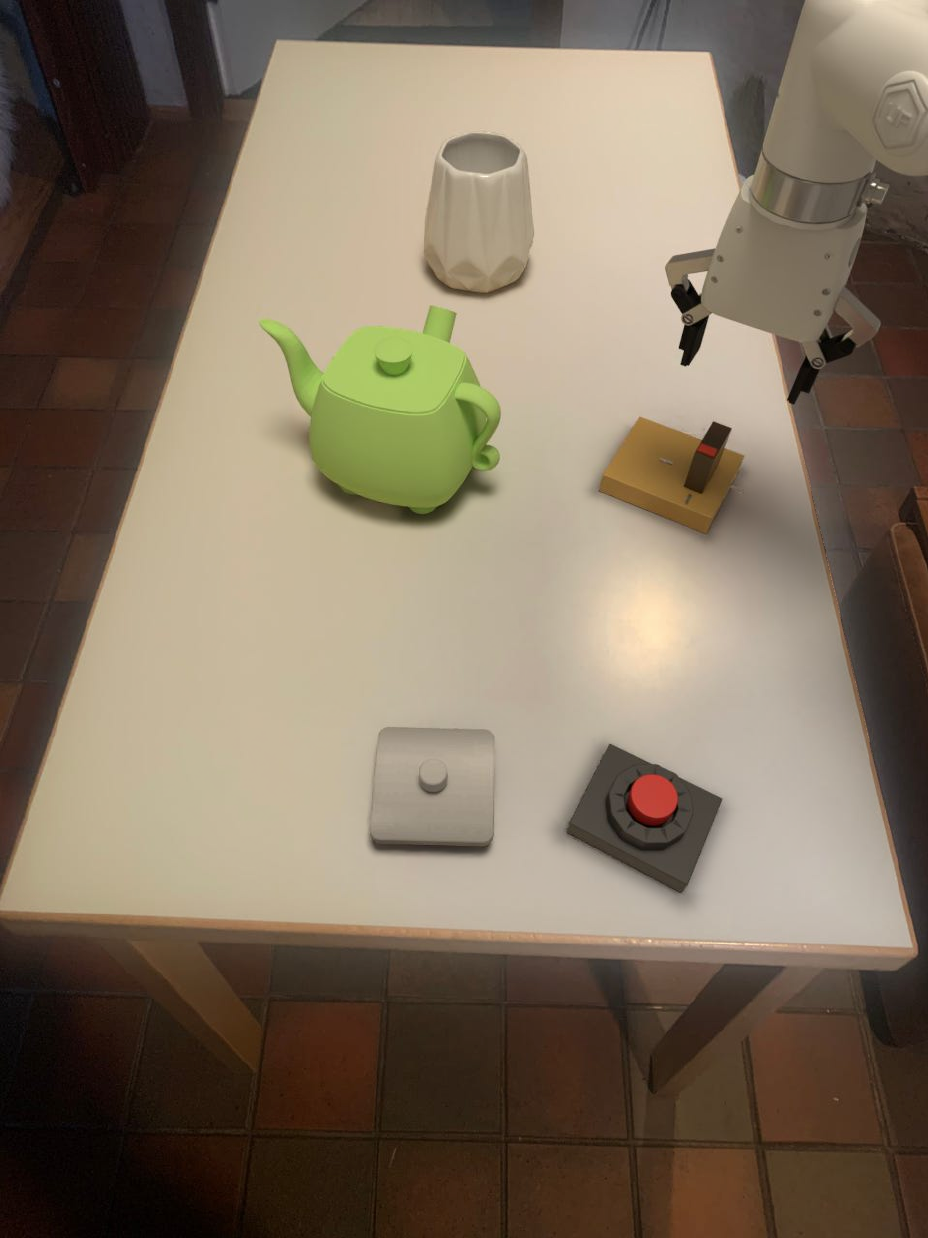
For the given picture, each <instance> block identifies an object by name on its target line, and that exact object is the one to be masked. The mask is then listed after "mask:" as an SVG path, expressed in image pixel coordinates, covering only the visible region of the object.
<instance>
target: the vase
mask: <svg viewBox="0 0 928 1238" xmlns="http://www.w3.org/2000/svg"><path fill="white" fill-rule="evenodd" d="M533 218H534V217H533V208H532V195H531V182H530V173H529V162H528V155H527V153H526V152H525V150H524V149H523V147H522V146H521V145H520V143H518V142H516V141H515V140H514V139H513V138H512V137H509V136H507V135H505V134H502V133H497V132H488V131H486V130H477V131H476V130H475V131H467V132H461V133H460V134H457V135H453V136H451V137H448V138H446V139H445V140H443V142H442V143H441V145H440V147H439V150H438V152H437V153H436V157H435V160H434V165H433V170H432V176H431V184H430V188H429V195H428V200H427V204H426V211H425V217H424V230H423V231H424V238H423V253H424V257H425V259H426V262H427V263H428V265H429V267H430V268H431V269H432V271H433V272H434V275H435V277H436V278H437V279H438V280H439V281H440V282H441V283H442V284H444V285H445V286H447V287H449V288H451V289H455V290H460V291H466V292H471V293H472V292H473V293H482V294H487V293H491V292H493V291H496V290H498V289H500V288H504V287H506V286H509V285H511V284H513V283H514V282H516V281H517V280H519V278H520V277H521V275H522V274H523V272H524V270H525V268H526V267H527V265H528V260H529V255H530V251H531V248H532V246H533V243H534V237H535V227H534V219H533Z"/></svg>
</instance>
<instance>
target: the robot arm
mask: <svg viewBox="0 0 928 1238" xmlns="http://www.w3.org/2000/svg"><path fill="white" fill-rule="evenodd" d="M764 136H765V137H764V140H763V142H762V147H761V151H760V154H759V157H758V161H757V165H756V168H755V171H754V174H752V175H750V176H748V177H747V178H746V179H745V180H744V181H743V184H742V185H741V188H740V189H739V191H738V194H737V195H736V197H735V201H734V202H733V204H732V206H731V208H730V210H729V213H728V214H727V215H728V216H727V217H726V221H725V222H724V225H723V228H722V230H721V232H720V235H719V238H718V241H717V244H716V246H715V247H714V248H709V249H704V250H698V251H693V252H687V253H680V254H675V255H672V256H671V257H670V259H669V260H668V262H667V263H666V264H665V265H664V270H665V275H666V278H667V281H668V286H670V289H671V291H670V297H671V299H672V300H673V302H674V303H675V305H676V307H677V308H678V310H679V312H680V314H681V317H680V320H681V322H682V324H683V328H682V331H681V332H682V333H681V336H680V341H679V345H678V350H681V351H683V352H682V356H681V360H680V365H681V366H683V367H685V368H687V367H689V366H690V365H691V364H692V362H693V360H694V358H695V357H696V355H698V353H699V351H700V349H701V347H702V343H703V339H704V336H705V332H706V329H707V325H708V322H709V319H710V315H712V314H713V315H716V316H717V317H721V318H724V319H726V320H729V321H733V322H734V323H735V322H736V323H738V324H741V325H745V326H747V327H749V328H754V329H757V330H760V331H763V332H766V333H769V334H772V335H775V336H777V337H781V338H785V339H787V340H791V341H794V342H798V343H800V345H801V346H802V348H803V351H804V353H805V357H804V359H803V362H802V363H801V365H800V367H799V370H798V372H797V374H796V377H795V380H794V382H793V383H792V387H791V389H790V392H789V394H788V395H787V398H786V401H787V402H788V404H791V405H795V404H796V403H797V400H798V398H799V396H800V394H801V393H805V394H808V395H809V394H810V392H811V390H812V388H813V386H814V384H815V382H816V380H817V378H818V376H819V373H820V371H821V369H823V368H825V366H826V365H827V364H829V363H832V362H834V361H837V360H840V359H843V358H846V357H848V356H850V355H852V354H853V352H855V350H857V349H858V348H860V347H862V346H863V345H864V344H866V343H867V342H869V341H870V340H871V339H873V338H874V337H875V336H876V335H877V334H878V332H879V329H880V327H881V324H882V322H881V320H880V319H879V317H877V315H875V313H873V312H872V311H871V310H870V309H869V308H868V307H867V306H866V305H865V304H864V303H863V302H861V301H860V300H859V298H857V297H856V295H854V294H853V292H851V291H850V290H849V289H848V288H847V287H846V285H847V282H848V280H849V277H850V274H851V272H852V269H853V266H854V263H855V261H856V257H857V255H858V251H859V249H860V245H861V241H862V238H863V234H864V229H865V225H866V219H867V214H868V206H867V205H870V203H871V204H874V205H878V206H881V205H882V203H883V200H884V199H885V197H886V195H887V192H888V190H889V187H890V184H889V183H884V182H881V181H880V178H875V177H876V175H877V174H876V172H874V169H875V166H876V164H877V162H876V161H878V162H879V163H880V164H882V165H883V166H884V167H886V168H887V169H889V170H891V171H893V172H894V173H897V174H900V175H904V176H907V177H926V176H928V0H804V3H803V5H802V9H801V12H800V15H799V18H798V21H797V25H796V29H795V32H794V35H793V39H792V41H791V45H790V49H789V53H788V57H787V61H786V63H785V67H784V70H783V74H782V77H781V80H780V84H779V87H778V90H777V93H776V98H775V101H774V104H773V108H772V111H771V116H770V119H769V122H768V126H767V130H766V131H765V135H764ZM703 272H706V275H705V278H704V281H703V284H702V289H701V292H700V293H698V291H697V290H696V288H695V287H694V284H693V282H692V281H691V280H690V279H689V278H688V277H689V275H691V274H698V273H703ZM835 313H836V314H837V315H838V316H839V317H840V318H841V319H842V320H843V321H845V323H846V324H848V325H849V326H850V327H851V328H852V329H851V330H849V331H846V332H843V333H841V334H838V335H835V336H833V334H832V331H831V329H830V327H829V325H828V324H829V321H830V320H831V318H832V317H833V316H834V314H835Z"/></svg>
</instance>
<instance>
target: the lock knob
mask: <svg viewBox="0 0 928 1238" xmlns="http://www.w3.org/2000/svg"><path fill="white" fill-rule="evenodd" d="M732 429H733V428H732V427H730V426H727V425H725V424H722V423H719V422H717V421H714V420H713V421H712V423H711V424H710V426H709V427H708V429H707V431H706V433H705V434H704V436H703V438H701V439H702V441H701V443H700V444H699V446H698V448H697V449H696V451H695V453H694V456H693V459H692V462H691V465H690V469H689V472H688V475H687V478H686V481H685V484H684V487H686V488H688V489H691V490H693V491H696V492H698V493H701V494H702V493H703V491H704V489H705V487H706V486H707V484H708V482H709V480H710V479H711V477H712V475H713V473H714V471H715V470H716V468H717V466H718V464H719V462H720V460H721V457H722V454H723V451H724V449H725V448H726V446H727V444H728V441H729V437H730V435H731V432H732Z"/></svg>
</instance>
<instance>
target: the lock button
mask: <svg viewBox="0 0 928 1238" xmlns="http://www.w3.org/2000/svg"><path fill="white" fill-rule="evenodd" d="M677 803H678V796H677V792H676V789H675V788H674V786H673V785H672V783H671V782H670V781H668V780H667V779H666V778H664V777H662V776H659V775H655V774H648V775H644V776H642V777H640V778H638V779H637V780H636V781H635V782H634V784H633V786H632V788H631V790H630V793H629V795H628V807H629V810H630V812H631V814H632V815H633V816H634V818H636V819H637V820H638V821H639V822H641V823H643V824H646V825H650V826H656V825H661V824H663V823H665V822H666V821H667V820H668V819H669V818H670V817H671V815H672V814H673V812H674V810H675V808H676V806H677Z"/></svg>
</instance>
